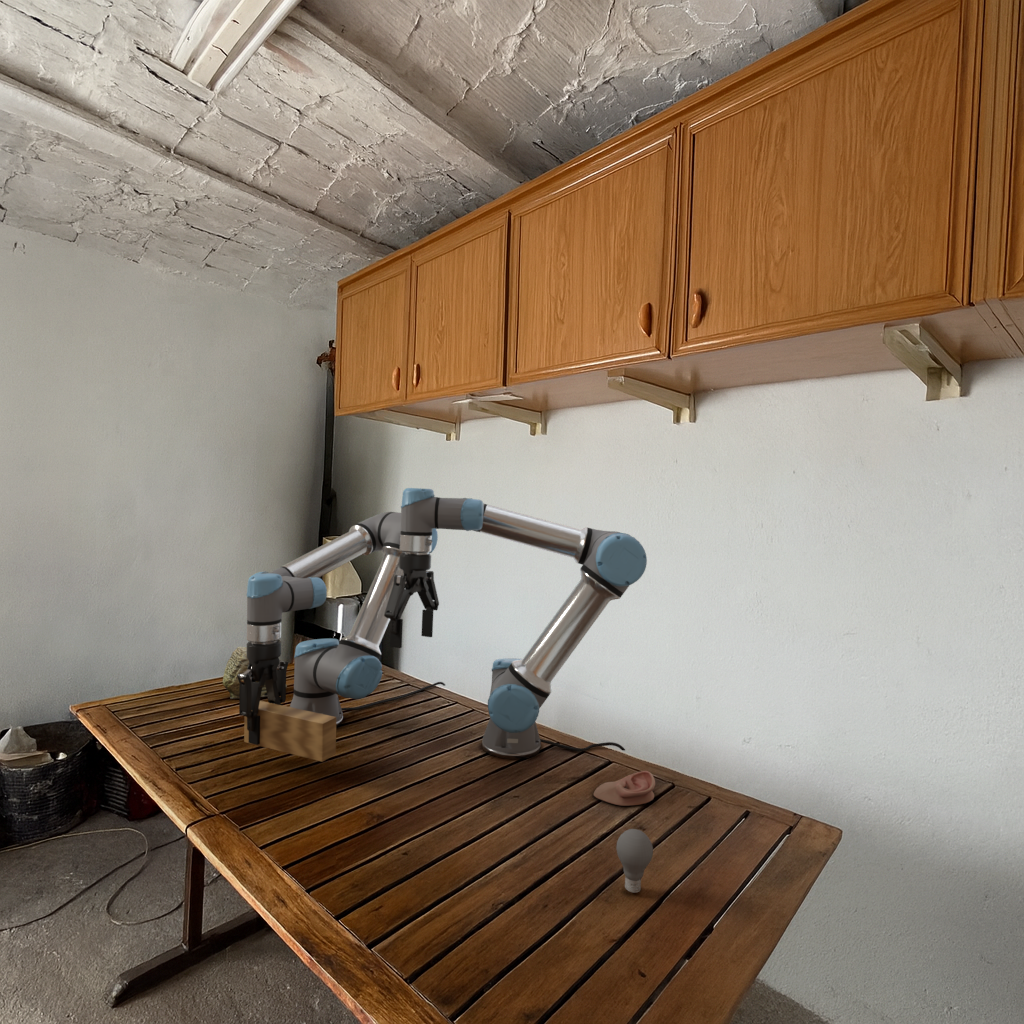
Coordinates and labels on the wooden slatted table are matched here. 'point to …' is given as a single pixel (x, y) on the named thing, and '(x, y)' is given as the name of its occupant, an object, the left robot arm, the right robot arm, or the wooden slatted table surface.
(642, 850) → the light bulb
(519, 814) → the wooden slatted table surface
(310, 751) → the bar
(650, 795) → the anatomical model
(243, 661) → the fossil
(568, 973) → the wooden slatted table surface
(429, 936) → the wooden slatted table surface
